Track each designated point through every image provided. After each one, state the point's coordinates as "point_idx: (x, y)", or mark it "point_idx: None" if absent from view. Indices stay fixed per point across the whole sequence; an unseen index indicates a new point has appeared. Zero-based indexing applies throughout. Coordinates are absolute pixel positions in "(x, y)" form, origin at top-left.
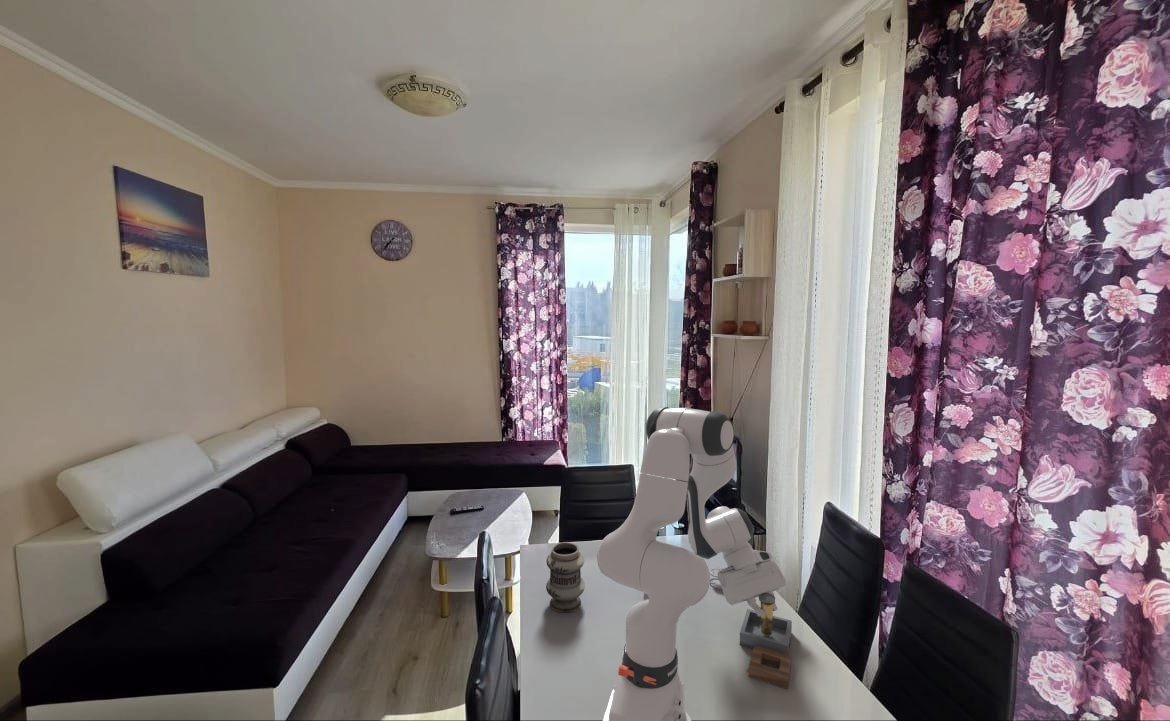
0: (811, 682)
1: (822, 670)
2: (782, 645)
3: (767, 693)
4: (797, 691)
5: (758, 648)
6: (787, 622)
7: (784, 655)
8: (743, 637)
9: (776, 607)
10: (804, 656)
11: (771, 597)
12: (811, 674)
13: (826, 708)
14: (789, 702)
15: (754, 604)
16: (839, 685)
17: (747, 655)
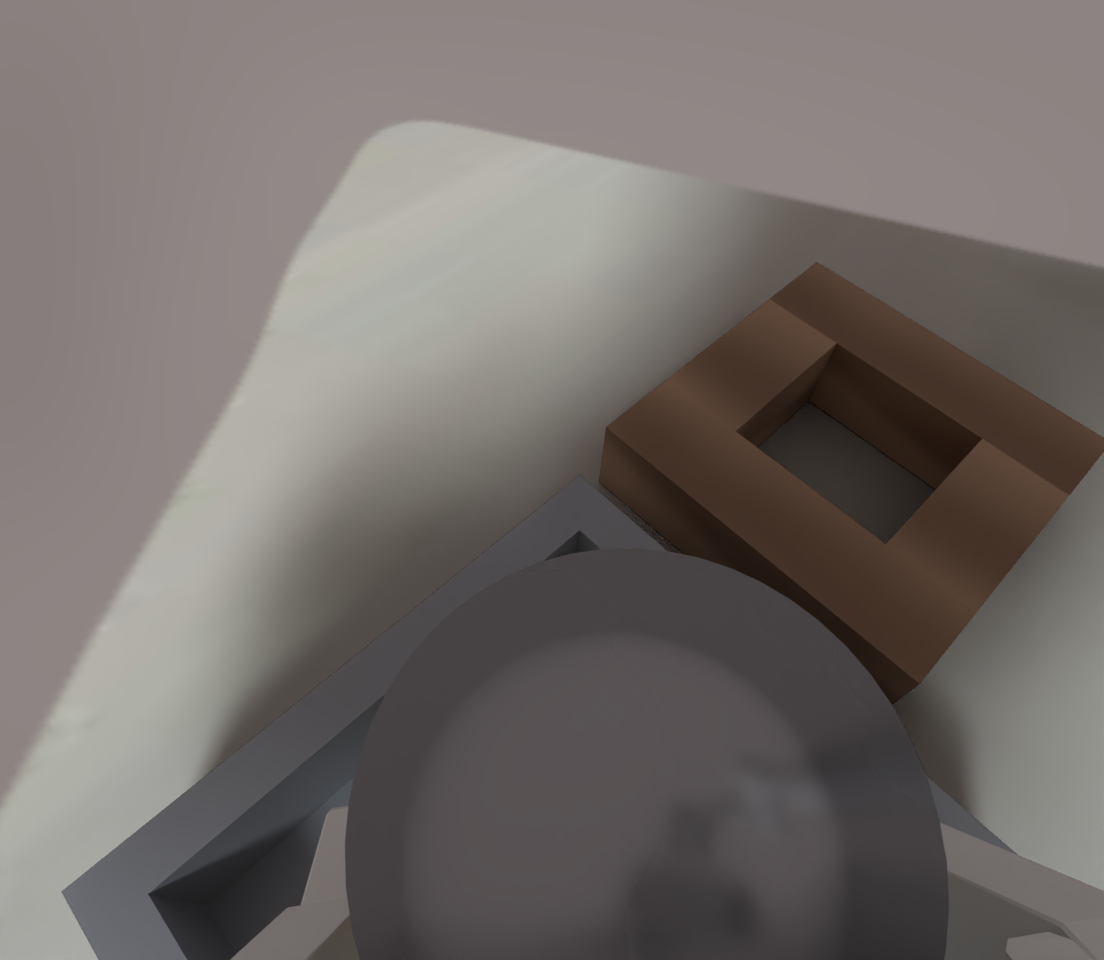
0: (577, 320)
1: (393, 372)
2: (621, 517)
3: (964, 339)
4: (736, 296)
5: (896, 614)
6: (172, 871)
7: (670, 452)
8: None
9: (345, 817)
10: (387, 528)
11: (513, 717)
12: (513, 369)
13: (648, 180)
14: (847, 257)
15: (1061, 880)
16: (411, 256)
17: (958, 724)
